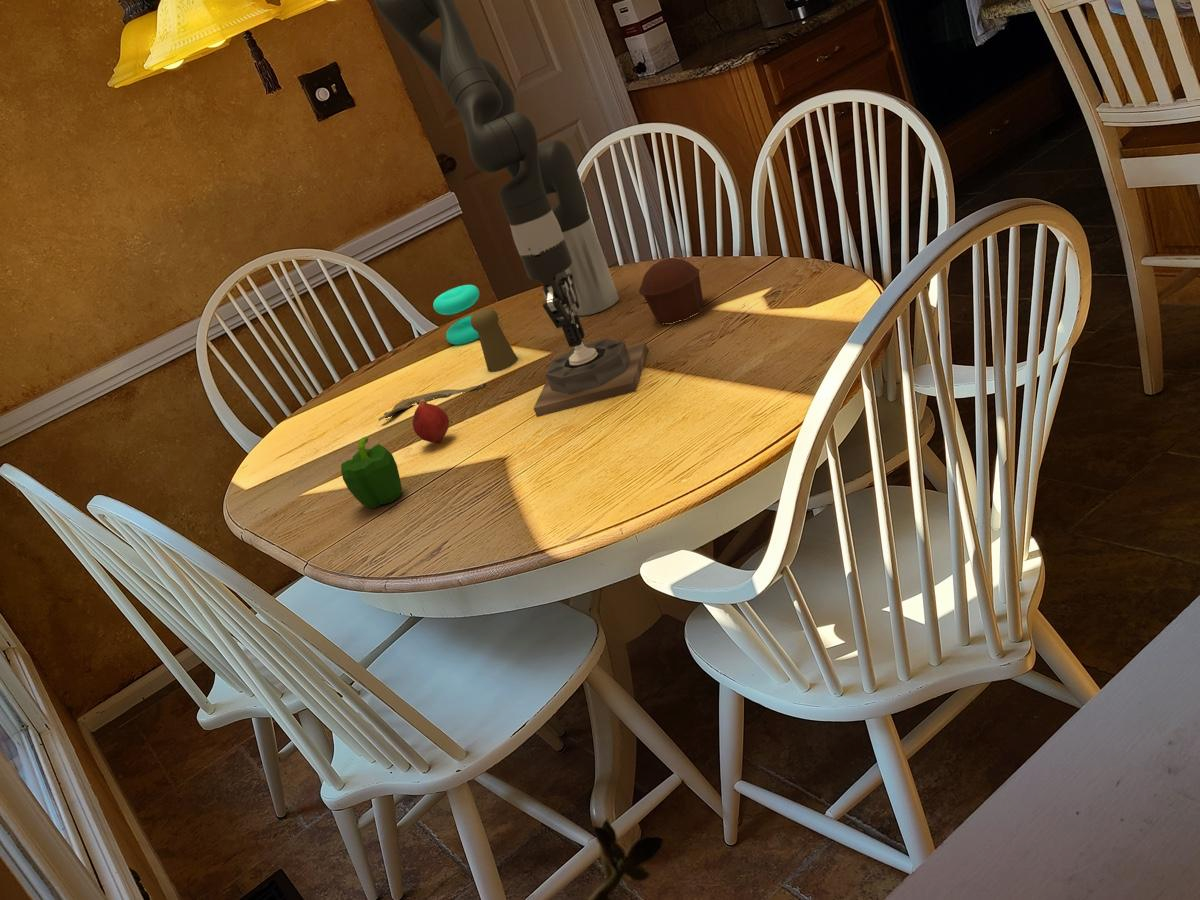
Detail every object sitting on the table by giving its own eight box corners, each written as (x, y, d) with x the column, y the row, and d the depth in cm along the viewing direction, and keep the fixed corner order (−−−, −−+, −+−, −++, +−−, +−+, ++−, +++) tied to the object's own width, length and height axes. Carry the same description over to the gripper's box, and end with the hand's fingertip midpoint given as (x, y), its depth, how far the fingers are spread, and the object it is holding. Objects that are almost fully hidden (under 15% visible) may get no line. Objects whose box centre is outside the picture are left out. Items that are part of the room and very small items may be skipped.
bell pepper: (387, 514, 165) (359, 457, 161) (349, 514, 170) (321, 459, 166) (421, 484, 171) (394, 428, 167) (384, 485, 176) (357, 430, 172)
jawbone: (385, 414, 210) (381, 404, 209) (487, 377, 210) (483, 367, 209) (382, 428, 202) (377, 417, 201) (488, 389, 202) (483, 379, 201)
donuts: (485, 282, 228) (448, 303, 223) (503, 326, 232) (466, 347, 227) (458, 282, 235) (422, 303, 230) (476, 325, 239) (440, 346, 234)
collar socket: (556, 373, 195) (547, 350, 193) (647, 349, 190) (639, 325, 188) (536, 416, 180) (526, 392, 178) (635, 391, 175) (626, 365, 173)
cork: (519, 353, 211) (498, 301, 207) (515, 366, 206) (493, 312, 202) (490, 362, 213) (469, 310, 208) (485, 375, 207) (462, 321, 203)
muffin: (653, 311, 207) (636, 261, 203) (710, 294, 204) (694, 244, 200) (648, 334, 196) (630, 282, 192) (708, 317, 194) (691, 264, 190)
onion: (429, 454, 181) (410, 412, 178) (418, 446, 186) (399, 405, 183) (460, 438, 183) (441, 395, 180) (449, 430, 188) (430, 389, 185)
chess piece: (565, 367, 182) (544, 312, 178) (576, 354, 186) (555, 300, 182) (591, 362, 180) (570, 306, 176) (602, 349, 184) (581, 294, 180)
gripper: (528, 237, 182) (564, 332, 189) (509, 264, 170) (548, 364, 177) (570, 224, 180) (605, 320, 187) (554, 250, 168) (592, 353, 175)
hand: (577, 341), depth 182 cm, fingers closed on chess piece
